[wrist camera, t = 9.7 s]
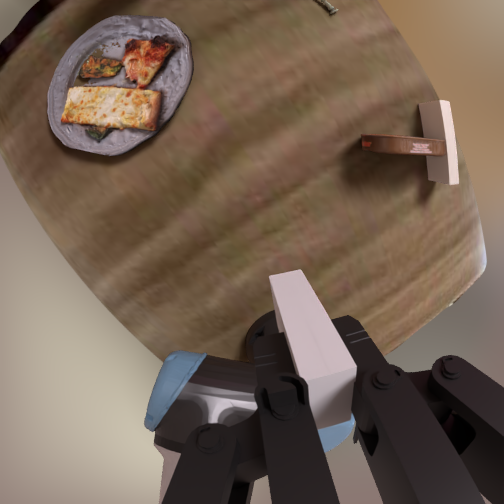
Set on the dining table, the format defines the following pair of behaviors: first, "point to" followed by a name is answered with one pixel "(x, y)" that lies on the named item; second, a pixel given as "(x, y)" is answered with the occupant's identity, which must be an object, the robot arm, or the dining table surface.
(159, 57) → the food plate
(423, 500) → the robot arm
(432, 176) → the board
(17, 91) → the dining table surface
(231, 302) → the dining table surface
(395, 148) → the tin
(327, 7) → the soupspoon
